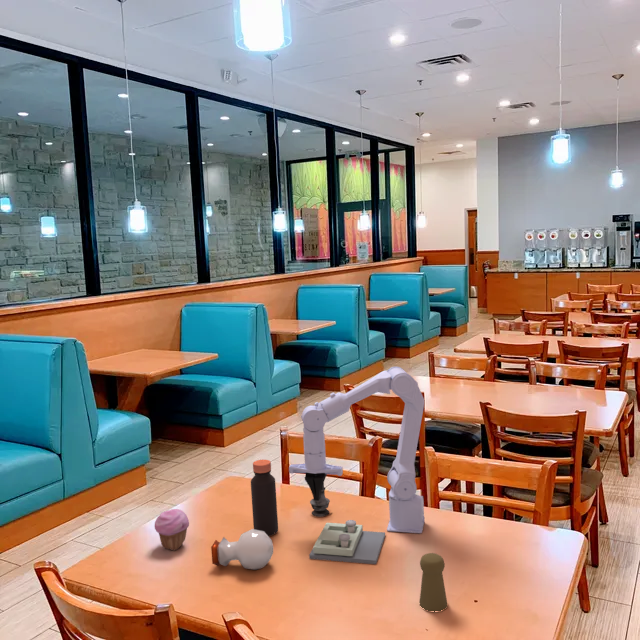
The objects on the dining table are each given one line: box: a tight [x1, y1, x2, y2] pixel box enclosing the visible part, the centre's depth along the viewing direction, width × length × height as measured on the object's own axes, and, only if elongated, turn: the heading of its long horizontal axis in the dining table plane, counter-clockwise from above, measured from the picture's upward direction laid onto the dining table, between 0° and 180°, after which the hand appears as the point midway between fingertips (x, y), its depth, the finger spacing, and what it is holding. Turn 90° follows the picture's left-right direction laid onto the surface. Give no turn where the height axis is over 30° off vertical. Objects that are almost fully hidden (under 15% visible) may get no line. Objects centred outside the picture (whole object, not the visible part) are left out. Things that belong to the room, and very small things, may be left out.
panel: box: [312, 522, 364, 556], centre depth 162 cm, size 10×14×2 cm
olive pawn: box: [419, 552, 448, 613], centre depth 133 cm, size 6×6×11 cm
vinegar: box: [250, 459, 279, 537], centre depth 171 cm, size 7×7×20 cm
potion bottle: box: [210, 528, 274, 571], centre depth 153 cm, size 9×10×15 cm
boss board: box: [308, 519, 386, 565], centre depth 161 cm, size 17×15×5 cm
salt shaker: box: [309, 482, 331, 518], centre depth 182 cm, size 6×6×12 cm
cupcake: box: [154, 508, 190, 551], centre depth 166 cm, size 9×9×10 cm
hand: (317, 499), depth 168 cm, fingers closed
